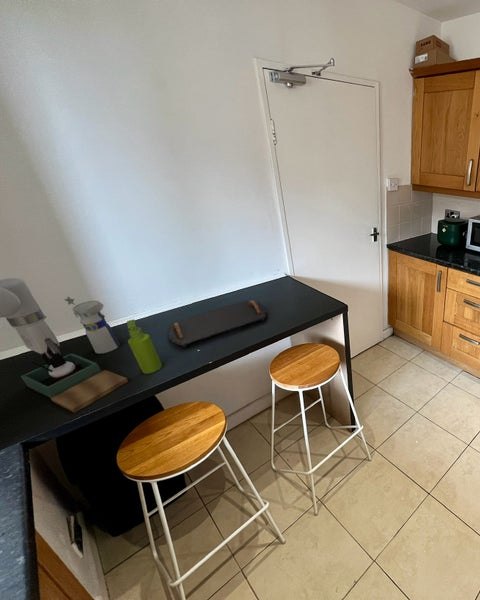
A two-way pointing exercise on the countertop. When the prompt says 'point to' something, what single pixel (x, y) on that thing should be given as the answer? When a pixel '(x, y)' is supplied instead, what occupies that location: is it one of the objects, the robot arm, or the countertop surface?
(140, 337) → the soap dispenser
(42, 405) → the countertop surface
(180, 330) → the serving tray
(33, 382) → the crate
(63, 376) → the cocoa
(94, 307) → the water bottle
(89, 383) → the cutting board
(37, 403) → the countertop surface
